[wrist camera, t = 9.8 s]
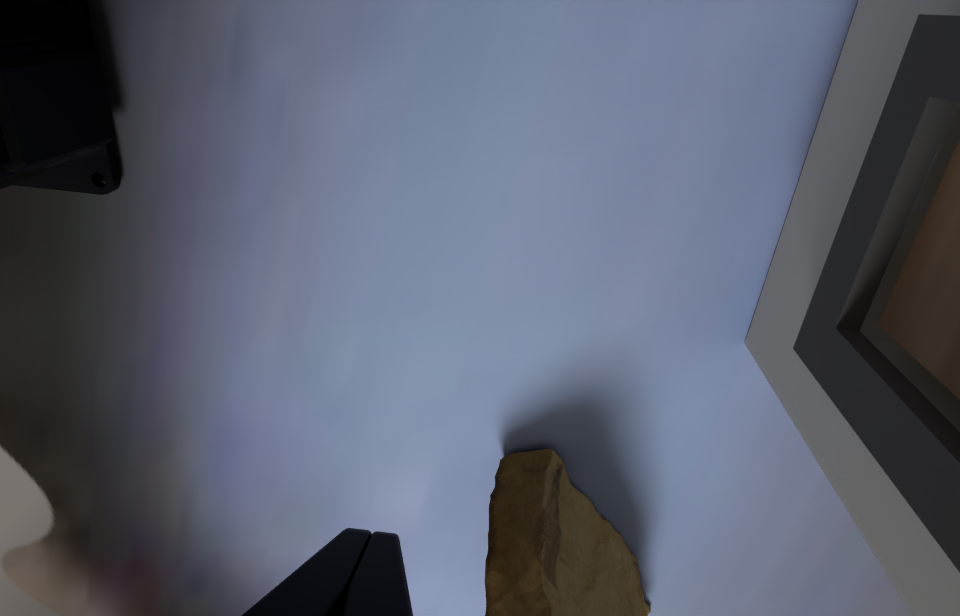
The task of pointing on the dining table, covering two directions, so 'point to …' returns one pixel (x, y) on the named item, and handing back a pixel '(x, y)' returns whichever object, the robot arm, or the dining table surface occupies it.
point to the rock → (554, 547)
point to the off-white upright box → (873, 295)
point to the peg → (932, 287)
